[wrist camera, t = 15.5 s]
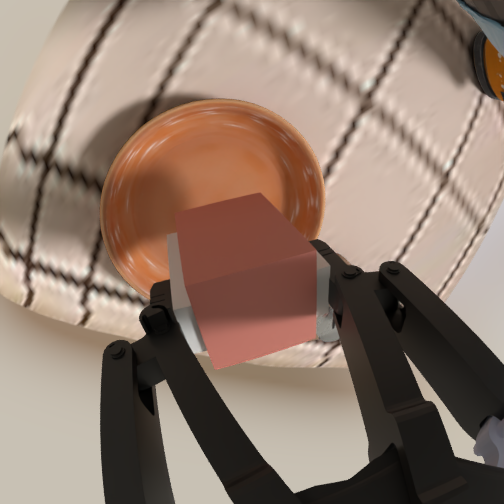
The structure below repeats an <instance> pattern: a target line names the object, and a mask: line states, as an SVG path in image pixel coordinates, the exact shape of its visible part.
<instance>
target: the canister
mask: <svg viewBox="0 0 504 504" xmlns="http://www.w3.org/2000/svg"><path fill="white" fill-rule="evenodd" d="M474 63H475V69H476V73H477V77H478V80H479V82H480V85H481V87H482V89H483V90H484V92H485V93H486V94H487V95H488V96H489V97H490V98H493V99H497V100H501V101H504V57H503V56H502V55H501V54H500V53H499V52H498V51H497V49H496V48H495V47H494V46H493V45H492V43H491V42H490V41H489V39H488V38H487V36H486V35H485V34H484V32H483V31H481V32H479V33H478V34H477V36H476V38H475V42H474Z"/></svg>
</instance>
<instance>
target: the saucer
mask: <svg viewBox="0 0 504 504" xmlns="http://www.w3.org/2000/svg"><path fill="white" fill-rule="evenodd" d="M259 192H261V193H262V194H263V195H264V196H265V197H266V198H267V199H268V200H269V201H270V202H271V203H272V204H273V205H274V206H275V207H276V208H277V209H278V210H279V211H280V212H281V213H282V214H283V216H284V217H285V218H286V219H287V220H288V221H289V222H290V223H291V224H292V225H293V226H294V227H295V228H296V229H297V230H298V231H299V232H300V233H301V234H302V235H303V236H304V237H305V238H306V239H307V240H308V241H311V240H315V239H317V238H318V235H319V233H320V230H321V226H322V222H323V218H324V210H325V187H324V180H323V176H322V172H321V169H320V166H319V163H318V160H317V158H316V156H315V154H314V152H313V150H312V149H311V147H310V146H309V144H308V143H307V141H306V140H305V139H304V137H303V136H302V135H301V134H300V133H299V132H298V131H297V130H296V129H295V128H294V127H293V126H292V125H291V124H290V123H288V122H287V121H286V120H285V119H283V118H282V117H280V116H279V115H277V114H275V113H274V112H272V111H270V110H268V109H266V108H264V107H261V106H259V105H256V104H253V103H249V102H245V101H241V100H234V99H206V100H198V101H193V102H189V103H186V104H182V105H179V106H177V107H174V108H171V109H169V110H167V111H165V112H163V113H161V114H159V115H158V116H156V117H154V118H153V119H151V120H150V121H148V122H147V123H146V124H144V125H143V126H142V127H140V128H139V129H138V130H137V131H136V132H135V133H134V134H133V135H132V136H131V137H130V138H129V139H128V141H127V142H126V143H125V144H124V146H123V147H122V148H121V150H120V151H119V153H118V154H117V156H116V157H115V159H114V161H113V163H112V165H111V167H110V169H109V171H108V174H107V176H106V179H105V182H104V186H103V190H102V194H101V201H100V225H101V231H102V237H103V240H104V244H105V247H106V250H107V252H108V255H109V257H110V259H111V261H112V263H113V264H114V266H115V268H116V269H117V271H118V272H119V273H120V275H121V276H122V277H123V278H124V280H125V281H126V282H127V283H128V284H129V285H130V286H131V287H132V288H133V289H135V290H136V291H137V292H138V293H140V294H141V295H143V296H144V297H146V298H147V299H149V300H150V289H151V288H152V286H153V284H154V283H156V282H160V281H164V280H168V279H170V275H169V262H168V249H167V235H168V234H172V233H176V232H177V230H176V222H175V214H174V213H176V212H180V211H184V210H188V209H192V208H196V207H200V206H204V205H208V204H212V203H216V202H220V201H224V200H228V199H233V198H237V197H241V196H246V195H250V194H255V193H259Z"/></svg>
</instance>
